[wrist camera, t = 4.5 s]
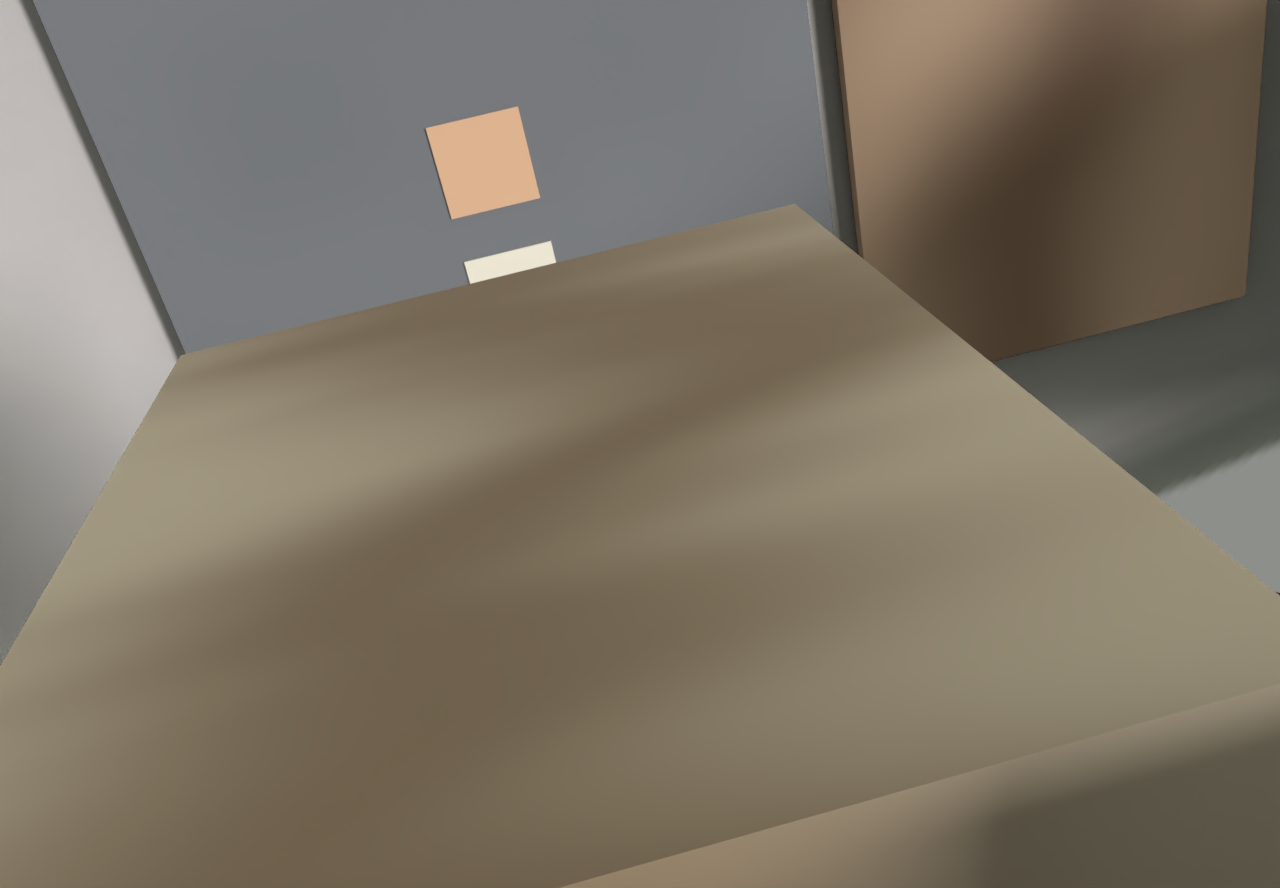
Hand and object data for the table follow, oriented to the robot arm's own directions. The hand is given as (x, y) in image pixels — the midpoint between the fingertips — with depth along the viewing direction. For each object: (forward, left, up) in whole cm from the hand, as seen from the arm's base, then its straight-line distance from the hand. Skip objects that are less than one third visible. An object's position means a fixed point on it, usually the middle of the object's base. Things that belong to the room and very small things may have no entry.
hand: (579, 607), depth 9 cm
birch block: (0, 0, -1) cm, 1 cm away
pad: (-10, +1, -12) cm, 16 cm away
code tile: (0, 0, -12) cm, 12 cm away
